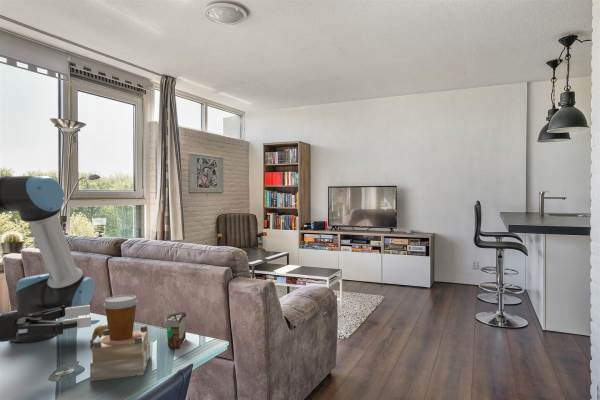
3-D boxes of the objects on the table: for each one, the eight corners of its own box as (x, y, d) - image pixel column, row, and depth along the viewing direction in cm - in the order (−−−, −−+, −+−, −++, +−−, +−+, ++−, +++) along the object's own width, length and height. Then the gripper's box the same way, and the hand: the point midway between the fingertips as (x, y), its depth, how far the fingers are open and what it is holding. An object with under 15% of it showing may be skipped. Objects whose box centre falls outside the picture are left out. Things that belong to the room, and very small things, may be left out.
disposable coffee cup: (124, 344, 108) (124, 302, 109) (96, 342, 110) (96, 301, 110) (144, 332, 118) (144, 294, 118) (118, 331, 120) (117, 293, 120)
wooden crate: (102, 361, 119) (102, 329, 119) (149, 356, 122) (149, 325, 123) (90, 381, 105) (90, 344, 105) (143, 374, 109) (143, 339, 109)
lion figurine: (114, 334, 143) (114, 311, 144) (126, 335, 142) (126, 312, 142) (84, 349, 129) (84, 323, 129) (97, 350, 128) (97, 324, 128)
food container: (169, 338, 139) (169, 311, 139) (186, 337, 139) (186, 310, 139) (160, 351, 126) (159, 321, 127) (178, 350, 127) (178, 321, 127)
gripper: (7, 328, 110) (89, 317, 121) (-11, 358, 88) (91, 340, 99) (7, 303, 110) (89, 293, 121) (-11, 326, 88) (91, 312, 99)
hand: (90, 315), depth 110 cm, fingers open, 13 cm apart
